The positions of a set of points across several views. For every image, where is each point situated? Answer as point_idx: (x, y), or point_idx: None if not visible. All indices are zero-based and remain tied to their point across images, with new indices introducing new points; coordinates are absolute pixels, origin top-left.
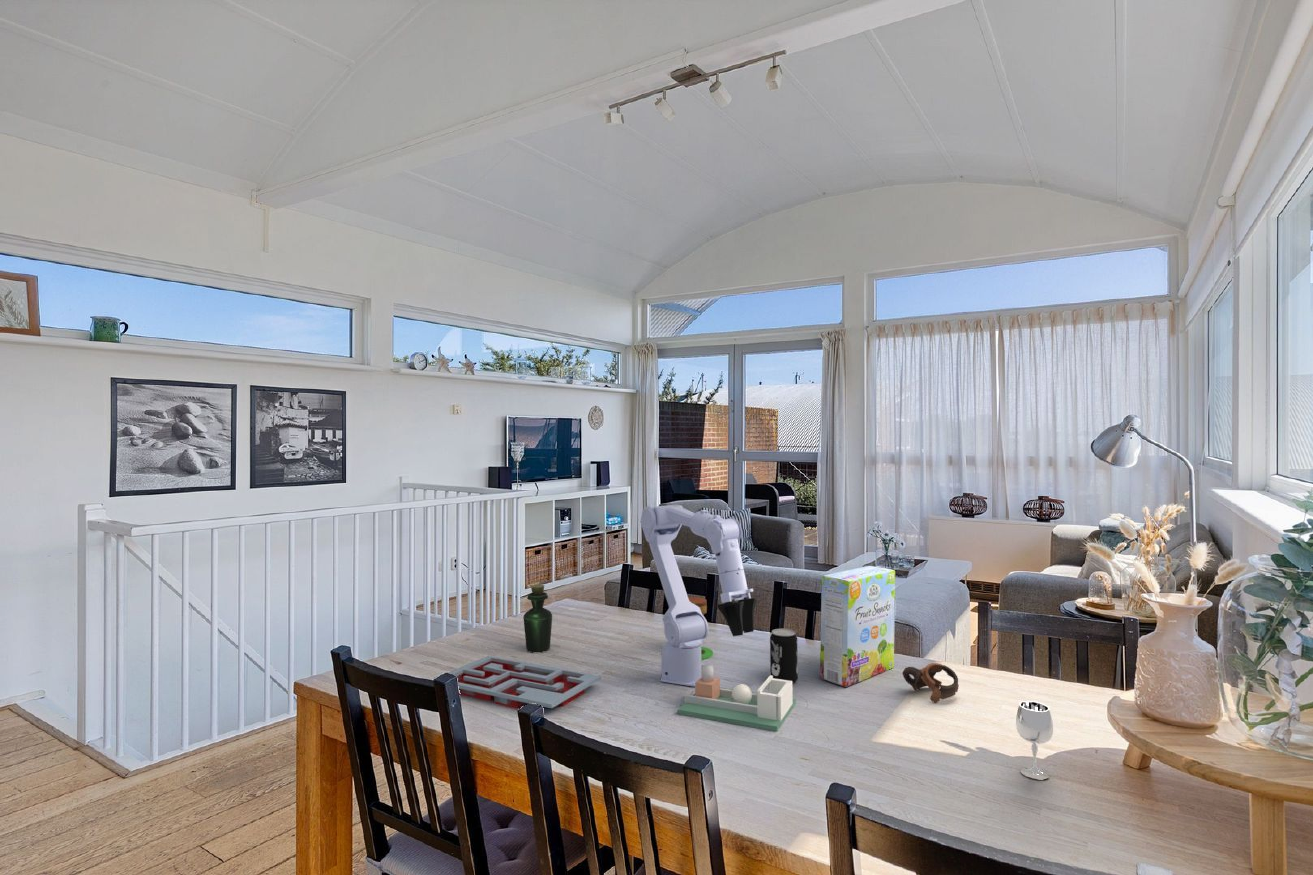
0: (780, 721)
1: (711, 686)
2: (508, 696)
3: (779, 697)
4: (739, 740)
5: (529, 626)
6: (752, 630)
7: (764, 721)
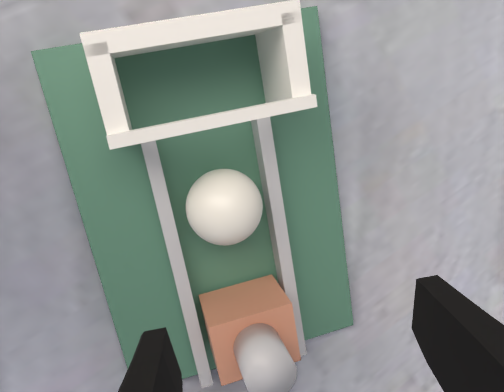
0: None
1: (289, 302)
2: None
3: (299, 5)
4: (415, 83)
5: None
6: (165, 333)
7: None
